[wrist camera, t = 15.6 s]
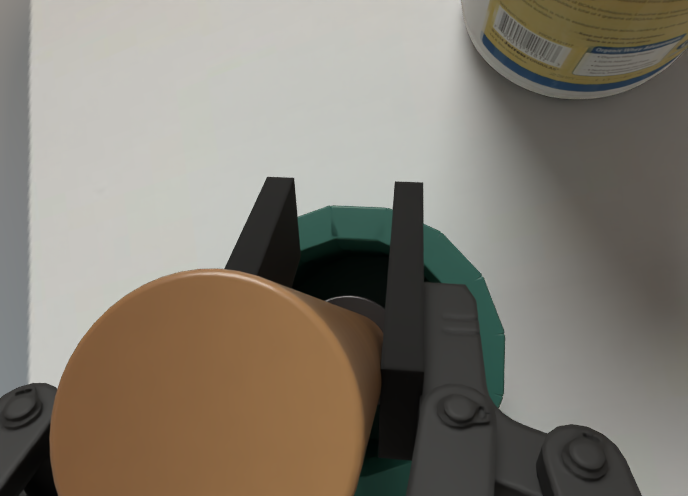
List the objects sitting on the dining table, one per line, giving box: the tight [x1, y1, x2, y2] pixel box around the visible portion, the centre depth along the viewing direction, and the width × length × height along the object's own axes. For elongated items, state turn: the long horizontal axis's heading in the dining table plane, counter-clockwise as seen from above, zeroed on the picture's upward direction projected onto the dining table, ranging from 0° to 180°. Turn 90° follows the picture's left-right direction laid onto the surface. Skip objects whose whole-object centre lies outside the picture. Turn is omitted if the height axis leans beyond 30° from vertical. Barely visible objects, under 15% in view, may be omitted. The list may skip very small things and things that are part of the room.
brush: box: [49, 269, 385, 496], centre depth 13 cm, size 4×4×18 cm
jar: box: [291, 206, 505, 496], centre depth 23 cm, size 10×10×10 cm
